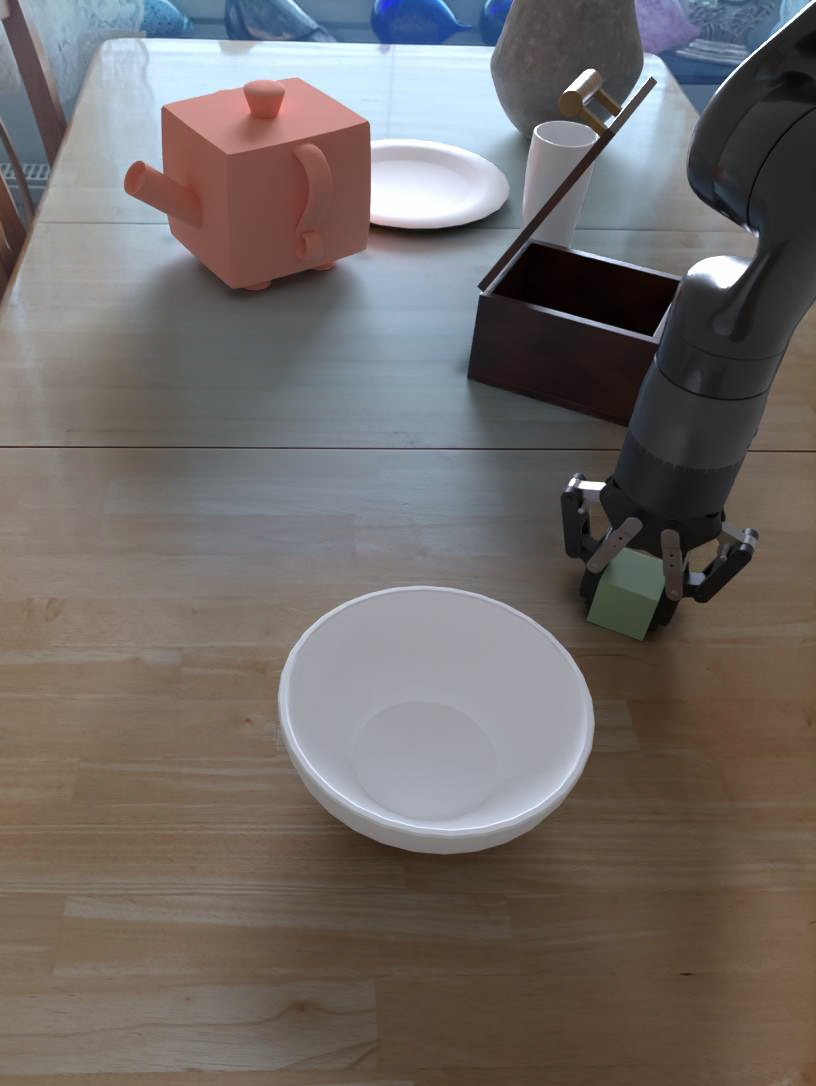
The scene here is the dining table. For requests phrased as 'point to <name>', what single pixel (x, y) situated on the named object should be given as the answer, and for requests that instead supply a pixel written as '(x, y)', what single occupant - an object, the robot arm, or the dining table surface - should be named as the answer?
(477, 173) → the plate
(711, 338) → the robot arm
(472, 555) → the dining table surface
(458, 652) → the bowl
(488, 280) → the tea lid
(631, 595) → the block
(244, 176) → the teapot
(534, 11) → the vase
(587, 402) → the box
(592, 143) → the drinking glass
